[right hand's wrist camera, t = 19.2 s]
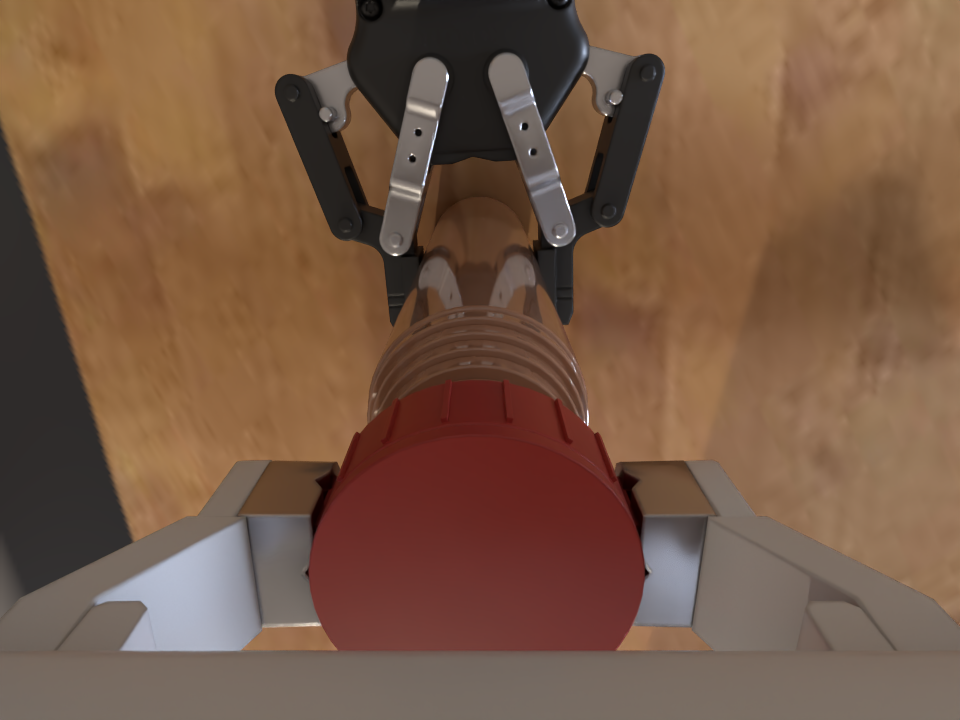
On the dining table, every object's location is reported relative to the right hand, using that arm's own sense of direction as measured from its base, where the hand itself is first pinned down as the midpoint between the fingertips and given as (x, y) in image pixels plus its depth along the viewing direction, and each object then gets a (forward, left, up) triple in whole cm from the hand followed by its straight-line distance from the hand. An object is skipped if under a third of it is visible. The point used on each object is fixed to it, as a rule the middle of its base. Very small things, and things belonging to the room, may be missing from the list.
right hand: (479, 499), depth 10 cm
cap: (0, 0, +2) cm, 2 cm away
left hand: (-1, +3, -17) cm, 17 cm away
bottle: (0, 0, -23) cm, 23 cm away
